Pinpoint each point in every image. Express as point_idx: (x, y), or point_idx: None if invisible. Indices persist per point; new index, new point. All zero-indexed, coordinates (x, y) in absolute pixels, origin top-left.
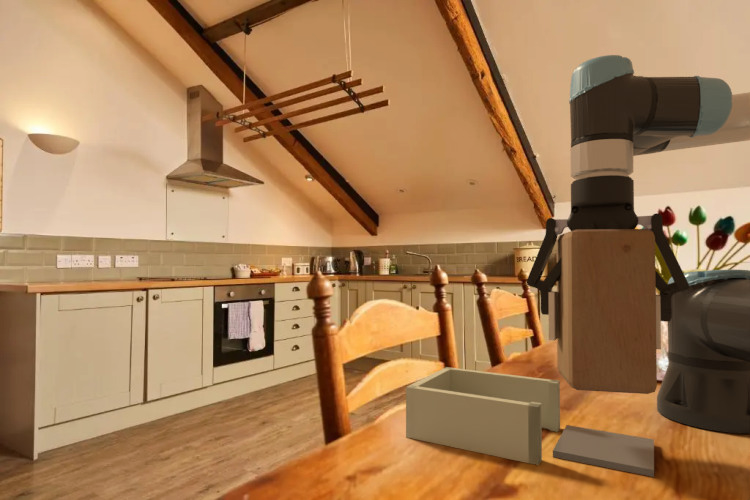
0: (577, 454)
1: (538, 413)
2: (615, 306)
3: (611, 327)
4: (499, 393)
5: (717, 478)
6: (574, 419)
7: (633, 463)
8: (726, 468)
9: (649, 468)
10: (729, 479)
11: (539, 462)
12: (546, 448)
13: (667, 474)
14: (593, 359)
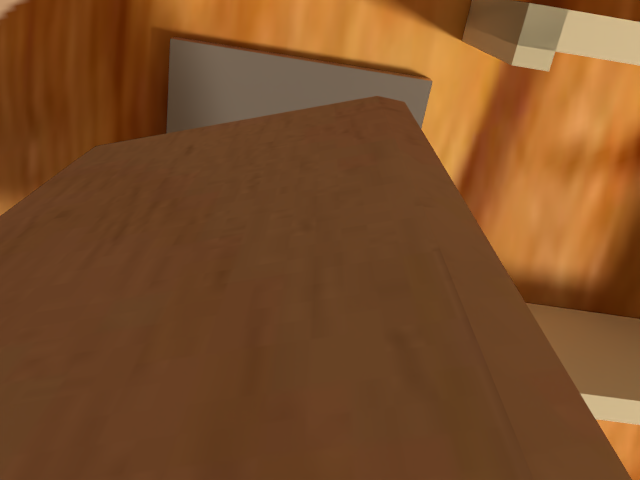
0: (364, 75)
1: (520, 3)
2: (100, 307)
3: (184, 218)
4: (599, 357)
5: (30, 95)
6: None
7: (219, 65)
8: (9, 171)
9: (180, 46)
10: (5, 99)
11: (471, 5)
12: (442, 138)
13: (142, 72)
14: (314, 134)
